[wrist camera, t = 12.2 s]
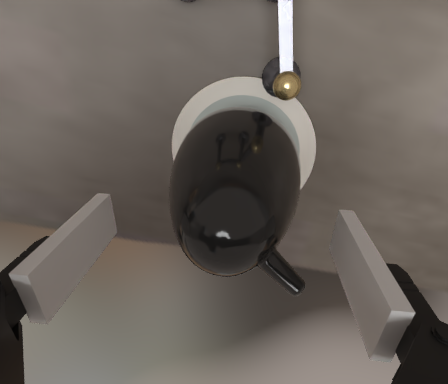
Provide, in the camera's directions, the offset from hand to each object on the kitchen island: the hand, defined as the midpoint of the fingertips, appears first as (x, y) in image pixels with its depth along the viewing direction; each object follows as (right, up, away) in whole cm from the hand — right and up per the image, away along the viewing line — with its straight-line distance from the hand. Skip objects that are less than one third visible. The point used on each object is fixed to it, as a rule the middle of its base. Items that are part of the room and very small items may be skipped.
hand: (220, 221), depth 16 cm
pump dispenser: (+2, +5, +11) cm, 12 cm away
